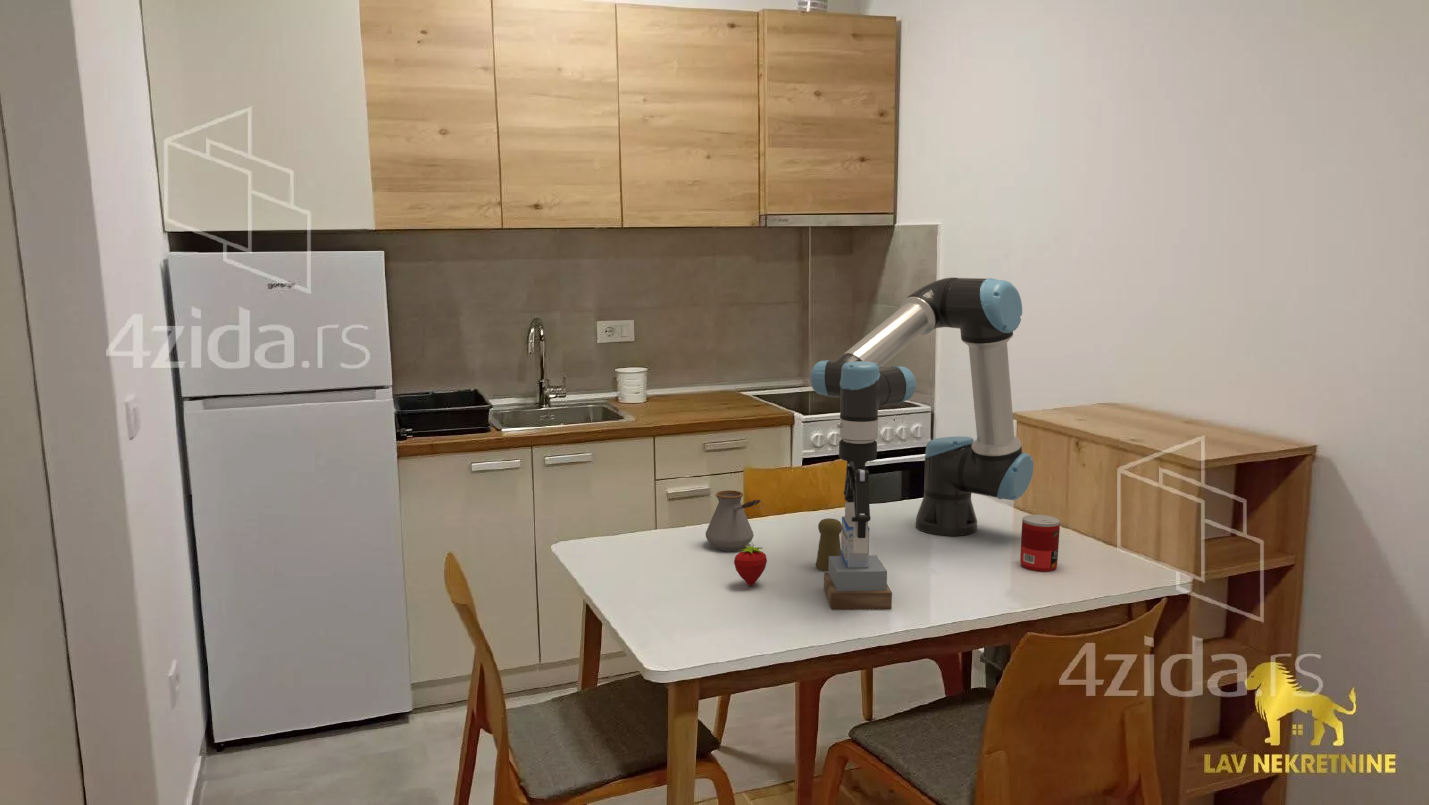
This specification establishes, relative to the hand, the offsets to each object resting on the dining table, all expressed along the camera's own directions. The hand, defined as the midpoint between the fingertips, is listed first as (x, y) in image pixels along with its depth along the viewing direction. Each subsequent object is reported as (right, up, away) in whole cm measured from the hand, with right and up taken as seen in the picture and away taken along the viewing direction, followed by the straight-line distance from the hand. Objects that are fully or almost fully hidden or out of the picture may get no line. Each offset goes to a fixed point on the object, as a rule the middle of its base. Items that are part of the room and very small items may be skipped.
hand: (855, 542), depth 207 cm
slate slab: (0, -8, +1) cm, 8 cm away
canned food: (+44, -9, +22) cm, 50 cm away
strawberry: (-21, -11, +9) cm, 25 cm away
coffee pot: (-23, -7, +32) cm, 40 cm away
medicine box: (0, -4, +1) cm, 5 cm away
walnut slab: (0, -12, +1) cm, 12 cm away
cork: (-3, -9, +21) cm, 23 cm away
